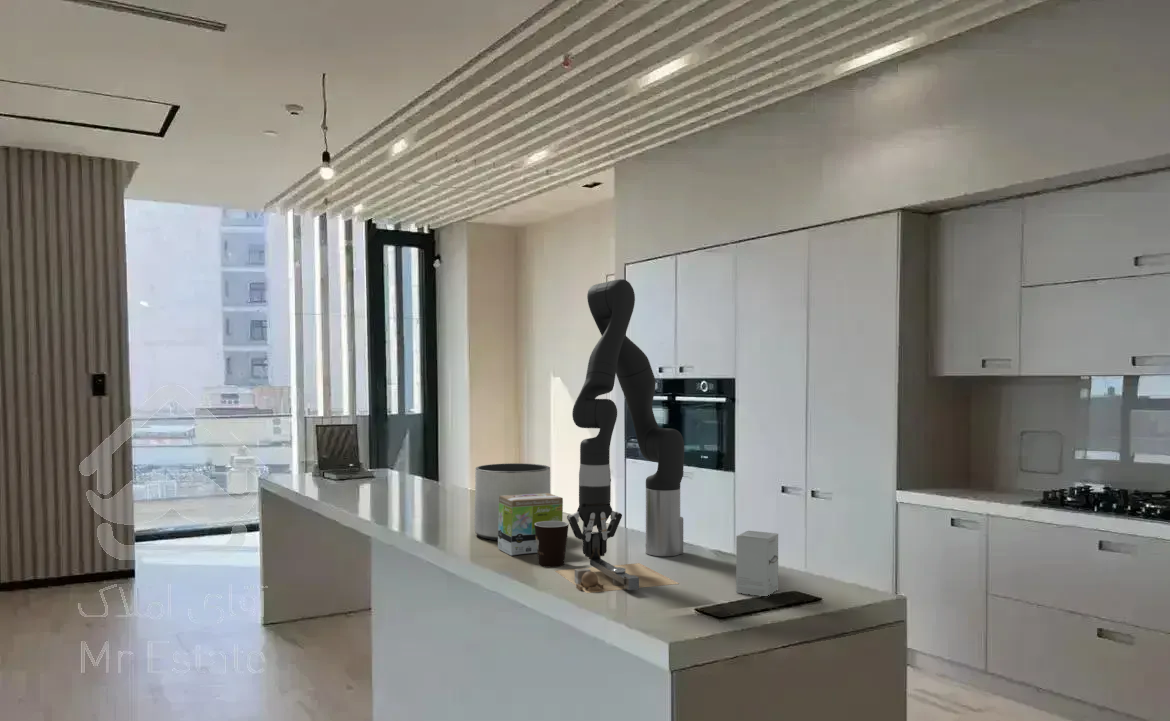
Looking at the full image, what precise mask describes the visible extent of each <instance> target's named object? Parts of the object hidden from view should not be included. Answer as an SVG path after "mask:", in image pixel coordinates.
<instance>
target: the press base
mask: <svg viewBox="0 0 1170 721" xmlns="http://www.w3.org/2000/svg"><path fill="white" fill-rule="evenodd" d="M612 565H613V564H612ZM613 566H615V567H621V568H625V569H626V572H625V573H627V574H629V575H635V576H637V577H639V589H642V588H652V587H660V586H661V587H662V586H669V585H670V586H671V585H672V586H673V585H679V584H680V583H679V582H677V581H675V580H673V579H672V578H669V577H667V576H665V575H664V574H661V573H660V572H658V571H655V570H653V569H652V568H650V567H648V566H646V565H643V564H642V563H640V562H638V563H627V564H625V563H624V564H617V565H616V564H615V565H613ZM554 571H555V572H556V573H557V574H559V575H560V576H561V577H563V578H564V579H566V580H567V581H569V582H570V583H571V584H573V585H574V586H575V588H576V589H577V590H578V591H580V592H581V591H583V592H585V593H586V594H592V593H602V592H603V593H605V592H613V591H621V590H627V589H626V588H624V585H623V584H621V583H620V582H618V581H616V580H615V579H613V578H611V577H610V576H608V575H606V574H605V573H603V572H601V571H600V570H598V569H596V568H595V567H593V566H590V567H582V568H581V567H580V568H571V569H570V568H569V569H568V568H567V569H559V570H554ZM588 571H592V572H594V573H595V574H596V575H597V577H598V583H597V585H596V586H595V587H588V588H586V587H585V586H584V585H583V584H582V576H583V574H584V573H586V572H588Z"/></svg>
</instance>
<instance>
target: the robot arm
mask: <svg viewBox="0 0 1170 721" xmlns="http://www.w3.org/2000/svg"><path fill="white" fill-rule="evenodd" d="M635 302H636V294H635V289H634V287H633V286H632V284H631V283H630V282H629V281H628V280H626V279H614V280H610V281H605V282H602V283H596V284H593V285H592V286H590V287H589V289H588V290H587V304H588V309H589V311H590V313H591V316H592V319H593V321H594V322H595V325H596V327H597V329H598V331H599V333H600V335H601V337H600V339H599V340H598V342H597V343H596V344H595V346H594V348H593V349H592V351H591V353H590V356H589V359H588V364H587V370H586V376H585V380H584V384H583V385H582V388H581V389H580V392H579V394H578V396H577V398H576V400H575V402H574V405H573V408H572V414H571V416H572V420H573V423H574V425H576V427H578V428H581V429H599V431H598V434H597V435H596V436H594V437H589V438H585V439H582V440H581V442H580V445H579V452H580V453H579V460H580V462H579V472H578V508H577V510H576V512H574V513H572V514H568V515H567V516H566V519H567V522H568V524H569V527H570V528H571V530H572V532H573V535H574V537H575V538H576V539H578V540H579V541H580V540H582V553H583V555H584V556H585V557H586V558H589V557H591V542H590V538H591V532H593V531H594V530H593V529H594V527H596V529H597V530H598V531H597V532H600V533H601V557H605V554H607V551H608V550H607V548H608V547H607V545H608V544H607V541H608V539H610V538H613V537H614V536H615V534H616V532H617V530H618V527H619V525H620V524H621V523H620V521H621V519H622V517H623V514H622V513H621V512H618V511H615V510H613V508H612V506H611V502H612V501H611V496H612V495H611V494H612V493H611V487H612V486H611V485H612V484H611V482H612V477H611V476H612V475H611V465H610V458H611V457H610V449H611V440H612V436H613V433H614V429H615V425H616V422H617V418H618V408H617V405H616V403H615V402H614V400H612V399H609V398H597V397H599V396H602V395H606V394H609V393H611V392H612V391H613V390H614V386H615V380H616V377H617V379H618V380H617V381H618V384H619V385H620V388H621V391H622V393H623V396H624V399H625V402H626V404H627V408H628V411H629V414H630V417H631V420H632V424H633V428H634V433H635V437H636V442H637V443H638V444H637V445H638V448H639V451H640V454H642V456H643V458H644V459H645V460H647V461H650V462H652V463H657V470H656V472H655V473H654V474H651V475H649V476H647V477H646V478H645V553H646V554H647V555H650V556H656V557H673V556H678V555H680V554H681V555H682V554H684V517H683V516H681V483H682V479H683V477H684V465H685V441H684V437H683V435H682V434H681V432H680V431H679V430H677V429H675V428H667V427H665V428H664V427H660V426H659V424H658V422H657V420H656V416H655V414H654V410H653V403H654V398H655V392H656V378H655V375H654V371H653V369H652V366H651V363H650V360H649V358H648V357H647V354H646V353H644V351H643V350H642V349H641V348H640V347H639V346H638V345H637V344H635V343H634V342H633V341H632V340H631V339H630V338H629V337H628V336H627V335H626V334H627V331H628V327H629V325H630V322H631V319H632V315H633V312H634V309H635ZM579 518H580V519H581V520H582V530H581V528H580V525H579V524H578V523H579ZM609 518H610V522H609V523H608V526H607V521H608V519H609Z"/></svg>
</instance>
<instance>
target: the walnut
mask: <svg viewBox="0 0 1170 721" xmlns="http://www.w3.org/2000/svg"><path fill="white" fill-rule="evenodd" d="M597 583H598V577H597V575H596V574H595V573H594V572H592V571H588V572H586V573H584V574H583V576H582V584H583V585H584V586H585V587H586V588H588V587H595V586H596V585H597Z"/></svg>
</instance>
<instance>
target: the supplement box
mask: <svg viewBox="0 0 1170 721" xmlns="http://www.w3.org/2000/svg"><path fill="white" fill-rule="evenodd" d="M735 539H736V544H735V545H736V546H735V548H736V554H735V555H736V556H735V557H736V558H735V559H736V560H735V562H736V564H735V565H736V567H735V568H736V569H735V570H736V573H735V574H736V576H735V578H736V579H735V585H736V586H735V592H736V593H737V594H741V593H742V594H743V595H748V594H750V595H749V596H754V595H759V596H758V597H761V596H768V595H769V596H771V595H772V594H773V592H774V591H775V592H777V591H778V590H779V533H776V532H767V531H755V530H746V531H745V532H742V533H740V534H737V535H736V538H735ZM777 589H778V590H777ZM776 590H777V591H776ZM775 592H774V593H775ZM771 593H772V594H771ZM770 594H771V595H770ZM760 595H761V596H760ZM769 596H768V597H769Z"/></svg>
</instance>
